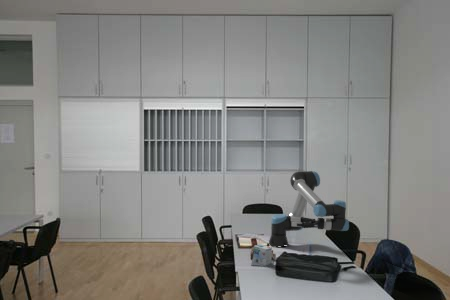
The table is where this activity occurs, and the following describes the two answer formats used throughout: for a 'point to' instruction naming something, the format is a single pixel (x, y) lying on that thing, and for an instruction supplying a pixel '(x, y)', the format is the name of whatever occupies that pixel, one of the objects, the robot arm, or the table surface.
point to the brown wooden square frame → (253, 253)
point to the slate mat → (261, 264)
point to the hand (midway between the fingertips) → (291, 221)
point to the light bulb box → (262, 254)
